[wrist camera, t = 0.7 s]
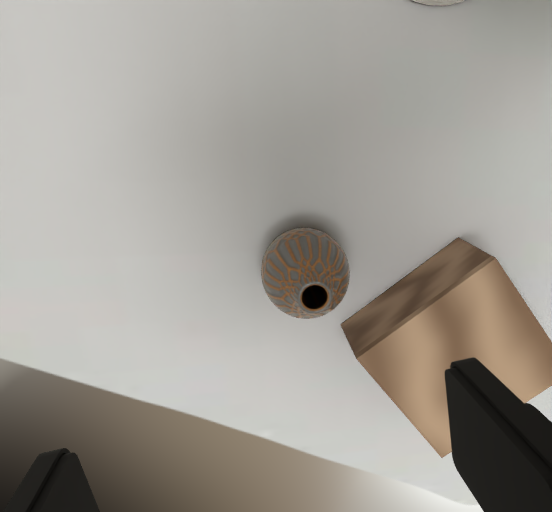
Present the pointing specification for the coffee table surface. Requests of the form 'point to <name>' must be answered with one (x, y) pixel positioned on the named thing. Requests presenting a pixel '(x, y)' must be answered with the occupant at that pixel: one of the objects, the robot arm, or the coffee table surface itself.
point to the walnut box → (449, 336)
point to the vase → (305, 273)
